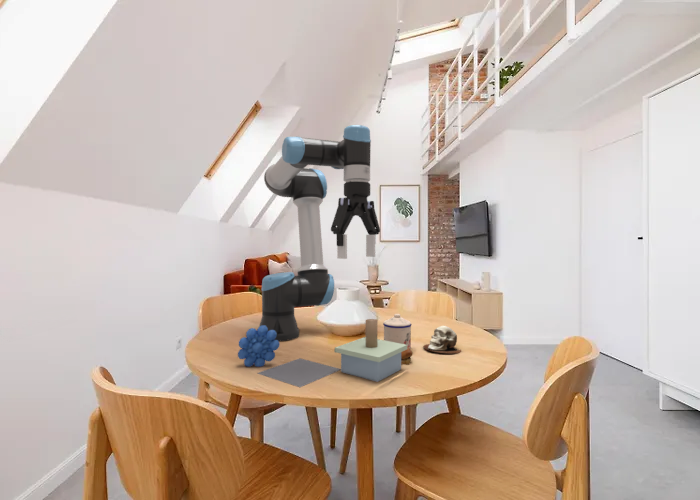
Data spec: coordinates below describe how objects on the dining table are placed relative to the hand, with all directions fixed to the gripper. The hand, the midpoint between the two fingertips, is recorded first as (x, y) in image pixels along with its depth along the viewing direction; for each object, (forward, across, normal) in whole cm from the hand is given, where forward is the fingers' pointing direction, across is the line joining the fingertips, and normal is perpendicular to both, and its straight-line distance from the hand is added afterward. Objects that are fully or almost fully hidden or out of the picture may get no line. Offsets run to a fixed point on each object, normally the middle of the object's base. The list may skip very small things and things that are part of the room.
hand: (357, 257), depth 110 cm
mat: (+31, -15, +8) cm, 35 cm away
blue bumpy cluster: (+31, -18, +21) cm, 41 cm away
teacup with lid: (+31, +21, -1) cm, 37 cm away
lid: (+25, -3, -7) cm, 26 cm away
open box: (+31, -3, -7) cm, 32 cm away
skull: (+31, +29, -13) cm, 44 cm away
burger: (+31, +9, -7) cm, 33 cm away
